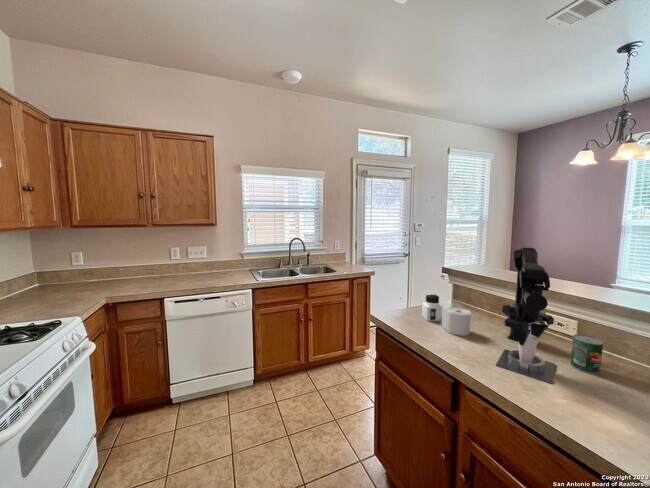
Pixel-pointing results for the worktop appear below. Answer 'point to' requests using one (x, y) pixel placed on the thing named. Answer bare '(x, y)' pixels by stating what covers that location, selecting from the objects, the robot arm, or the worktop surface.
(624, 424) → the worktop surface
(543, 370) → the duct collar
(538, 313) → the robot arm
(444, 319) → the toilet tissue
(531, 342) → the smoothie
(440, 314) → the container
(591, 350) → the canned tomato
